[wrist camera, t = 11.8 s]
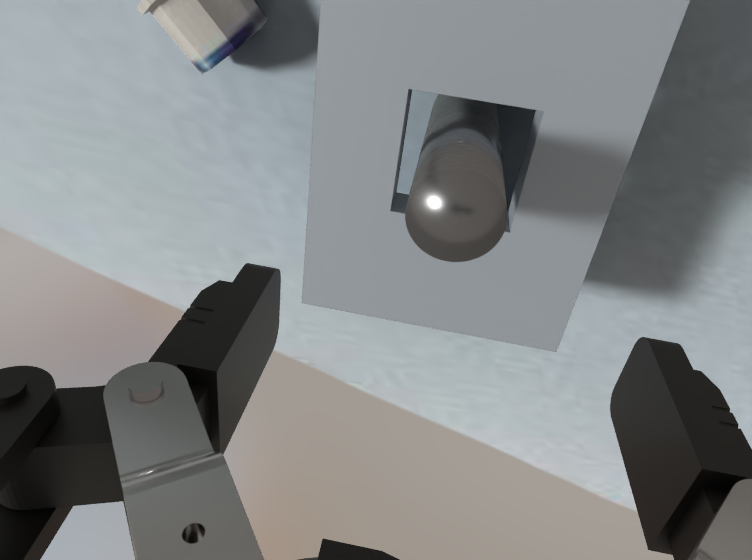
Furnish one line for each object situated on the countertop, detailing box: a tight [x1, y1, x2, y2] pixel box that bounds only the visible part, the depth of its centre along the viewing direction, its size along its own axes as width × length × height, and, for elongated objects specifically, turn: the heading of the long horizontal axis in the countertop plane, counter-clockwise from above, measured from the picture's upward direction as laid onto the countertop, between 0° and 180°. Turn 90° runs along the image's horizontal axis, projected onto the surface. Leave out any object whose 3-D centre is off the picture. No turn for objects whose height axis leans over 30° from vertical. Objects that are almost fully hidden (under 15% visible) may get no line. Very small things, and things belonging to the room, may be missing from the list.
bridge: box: [302, 0, 690, 352], centre depth 25 cm, size 12×16×7 cm
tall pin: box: [405, 94, 508, 262], centre depth 23 cm, size 3×3×12 cm
